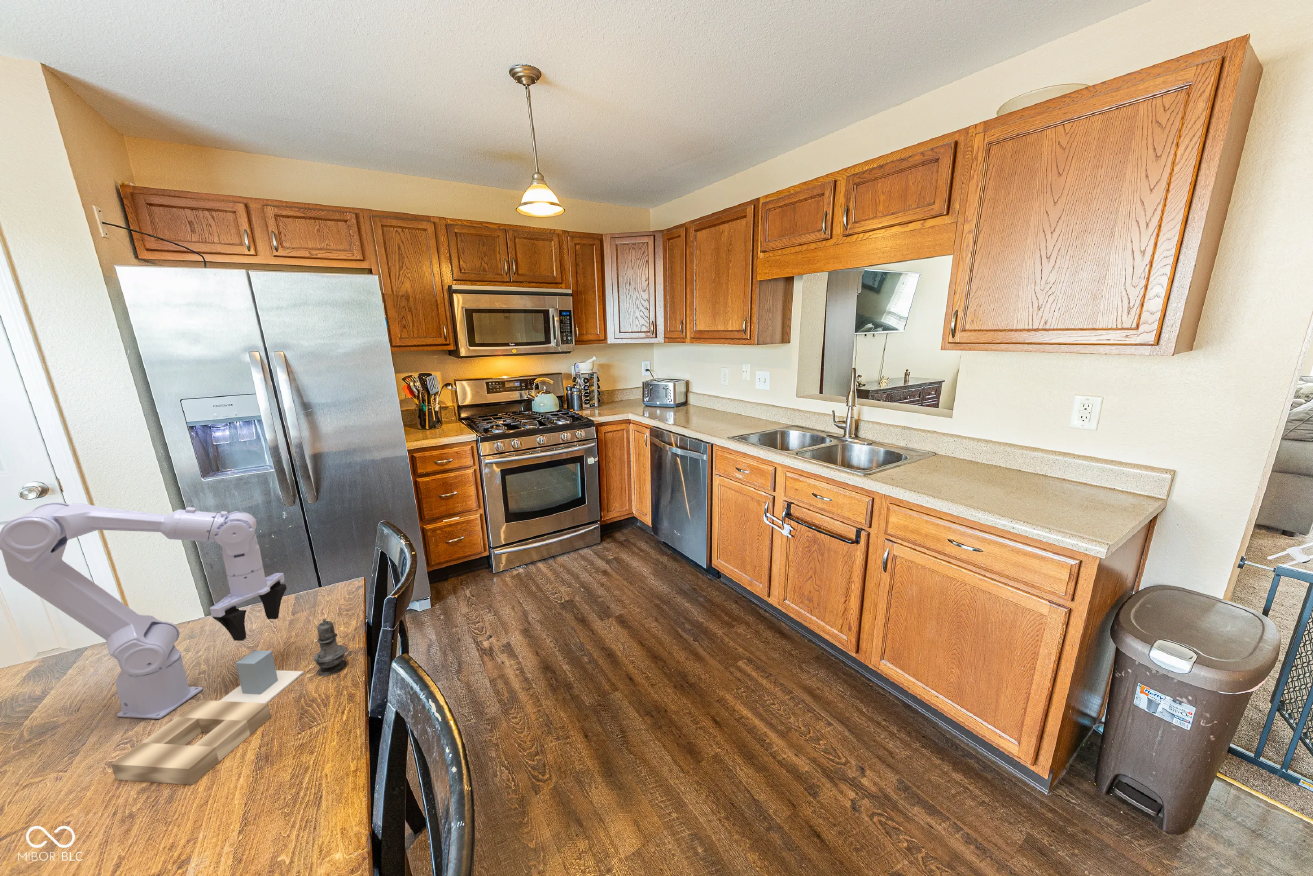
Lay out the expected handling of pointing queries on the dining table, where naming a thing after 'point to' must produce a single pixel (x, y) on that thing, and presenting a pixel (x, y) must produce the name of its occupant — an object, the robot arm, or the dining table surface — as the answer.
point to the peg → (257, 672)
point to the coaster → (283, 681)
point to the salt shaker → (329, 650)
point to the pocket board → (167, 747)
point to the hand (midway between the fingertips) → (257, 628)
